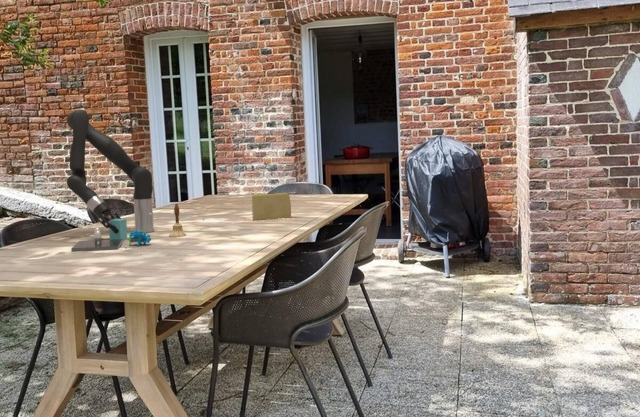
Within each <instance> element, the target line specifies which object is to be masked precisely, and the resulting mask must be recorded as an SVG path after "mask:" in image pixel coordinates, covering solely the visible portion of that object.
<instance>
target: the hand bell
mask: <svg viewBox="0 0 640 417" xmlns="http://www.w3.org/2000/svg"><path fill="white" fill-rule="evenodd" d="M178 204H179V203H175V204H174V208H173V212H174V215H175V216H174V217H175V223H174V224H173V225H172V230H171V232H170V234H169V237H171V238H179V237H181V238H182V237H186V236H187V233H185V232H184V230H183V225H182V224H181V223H180V218H179V217H180V207H179V205H178Z"/></svg>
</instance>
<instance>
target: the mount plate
mask: <svg viewBox="0 0 640 417" xmlns="http://www.w3.org/2000/svg"><path fill="white" fill-rule="evenodd" d="M93 239H94V240H91V239H90V240H79V241H78V242H77V243H75V244H74V245H73V246H72V247H71V250H70V251H71V252H93V251H95V252H96V251H111V250H113V251H115V250H119V248H121V246H122V245H123V243H124V240H123V239H112V240H110V239H102V230H101V228H100V227H94V229H93Z"/></svg>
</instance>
